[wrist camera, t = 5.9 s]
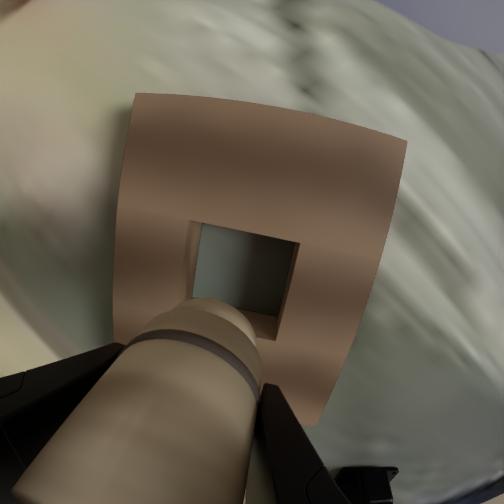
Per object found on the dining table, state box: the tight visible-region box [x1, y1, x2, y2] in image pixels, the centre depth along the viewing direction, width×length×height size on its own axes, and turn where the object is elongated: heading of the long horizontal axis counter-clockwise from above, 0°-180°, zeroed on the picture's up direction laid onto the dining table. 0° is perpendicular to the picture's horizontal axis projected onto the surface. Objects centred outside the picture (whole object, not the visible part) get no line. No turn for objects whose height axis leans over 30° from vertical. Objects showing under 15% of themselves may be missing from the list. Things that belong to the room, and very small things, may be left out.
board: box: [113, 93, 407, 426], centre depth 17 cm, size 18×14×3 cm
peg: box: [11, 298, 263, 504], centre depth 6 cm, size 4×4×8 cm
